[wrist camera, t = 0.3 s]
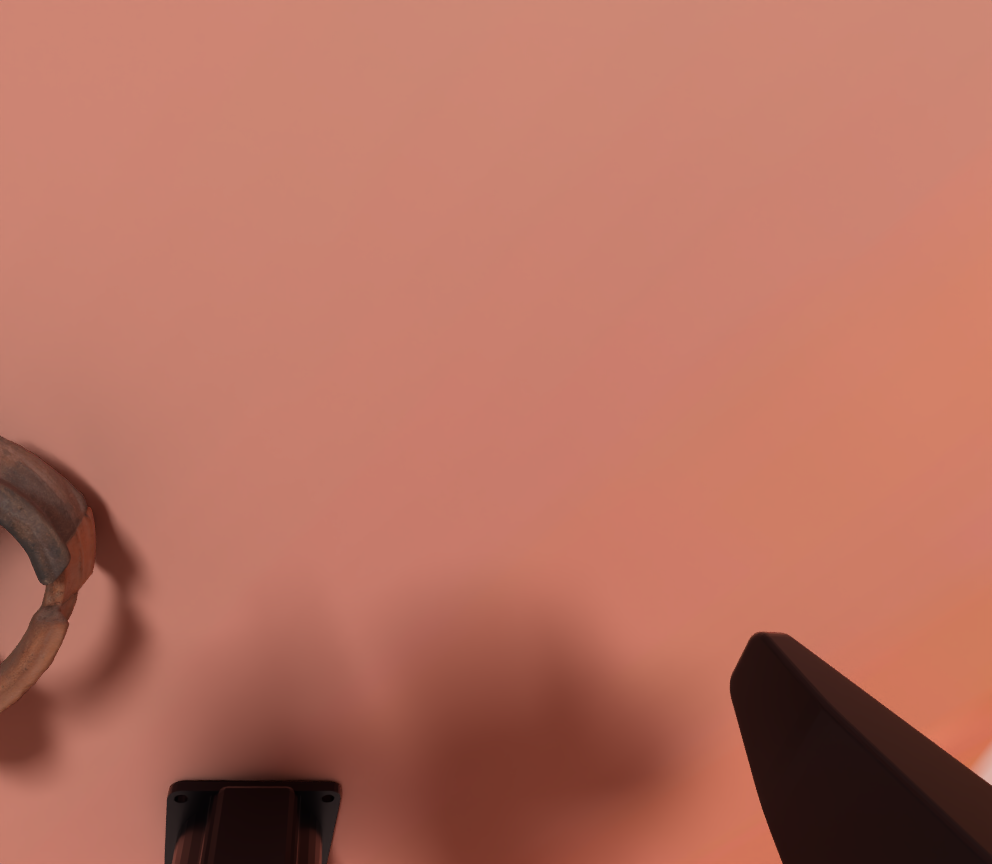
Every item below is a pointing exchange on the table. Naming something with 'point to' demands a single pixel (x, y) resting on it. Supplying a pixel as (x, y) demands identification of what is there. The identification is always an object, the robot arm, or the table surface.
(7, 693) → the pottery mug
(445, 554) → the table surface
